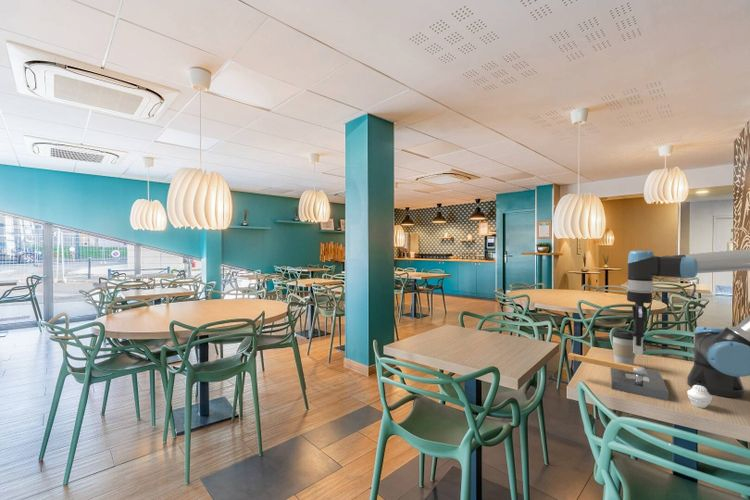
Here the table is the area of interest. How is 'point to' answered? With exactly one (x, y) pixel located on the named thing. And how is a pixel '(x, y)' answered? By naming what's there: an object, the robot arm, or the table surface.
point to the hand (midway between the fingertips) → (637, 353)
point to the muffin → (699, 396)
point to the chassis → (640, 383)
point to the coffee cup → (623, 347)
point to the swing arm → (607, 363)
